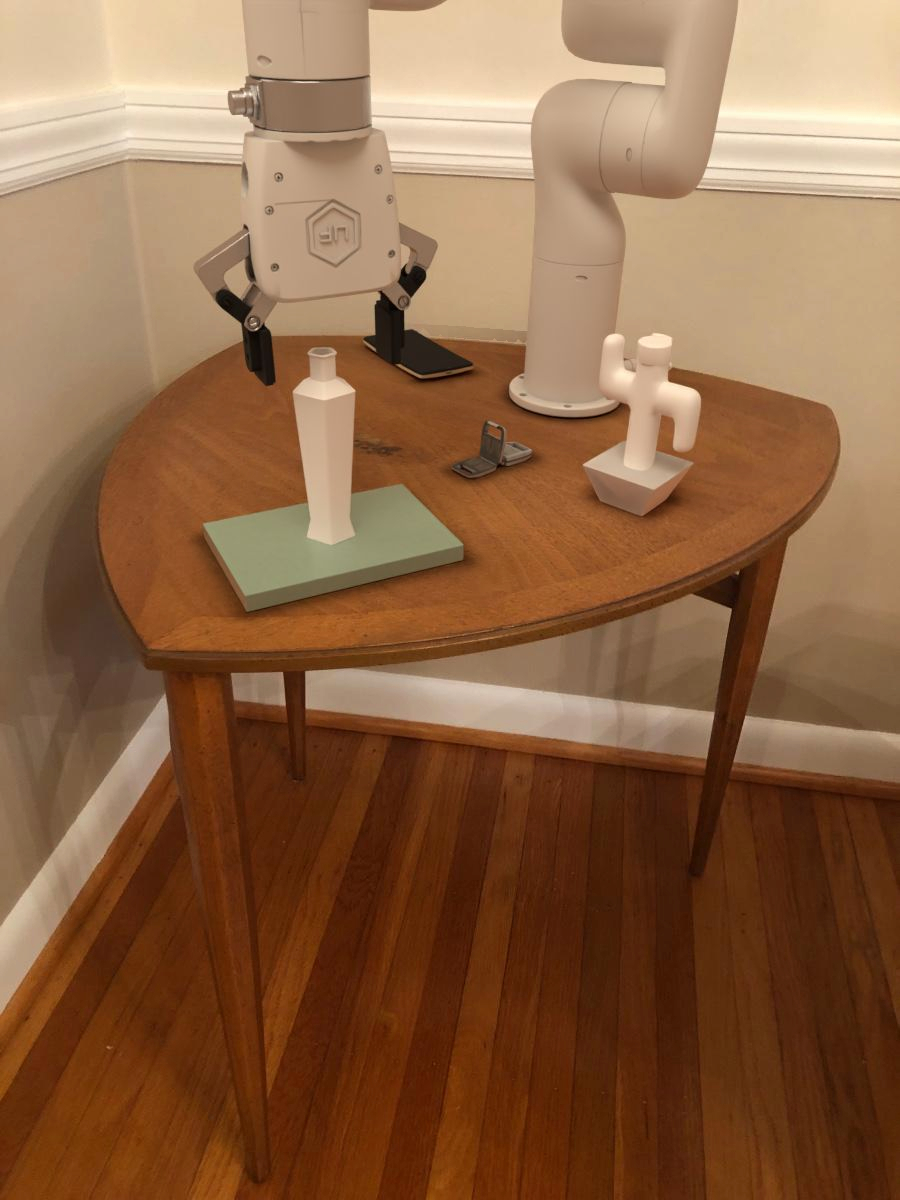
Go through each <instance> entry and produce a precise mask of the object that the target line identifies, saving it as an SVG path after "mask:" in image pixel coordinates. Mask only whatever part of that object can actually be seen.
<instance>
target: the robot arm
mask: <svg viewBox="0 0 900 1200" xmlns="http://www.w3.org/2000/svg"><path fill="white" fill-rule="evenodd" d="M447 1H448V0H241V7H242V8H241V10H242V19H243V28H244V30H243V31H244V40H245V41H244V43H245V52H246V53H245V54H246V64H247V73H248V75H246V76H245V78H244V79H245V83H244V87H240V88H239V89H238V90H236V89H235V90H234V89H233V90H228V92H227V106H228V111H229V113H230V115H231V116H243V118H247V119H248V120H249V123H251V124H252V129H253V130H250V131H249V130H248V131H246V132H244V134H243V142H242V143H243V144H242V153H241V154H242V157H241V173H240V176H241V177H240V226H241V227H240V228H241V230H239V231H238V232H236V233H235V234H234V235H232V236H231V237H229V238H228V239H227V240H225V241H224V242H222V243H220V244H219V245H218V246H216V247H215V248H214V249H212V250H211V251H209V252H208V253H207V254H205V255H203V256H202V257H200V258H199V259H198V260H197V261H195V262H194V263H193V271H194V273H195V274H196V276H197V278H198V279H199V281H200V282H201V283H202V285H203V287H204V288H205V289H206V291H207V292H208V294H209V295H210V297H211V298H212V300H213V301H214V302H215V303H216V304H217V305H218V306H219V307H220V308H221V309H222V310H223V311H224V312H226V313H227V314H228V315H229V316H231V317H232V318H233V319H235V320H236V321H237V322H238V323H240V324H241V331H242V332H241V333H242V342H243V343H242V344H243V351H244V360H245V365H246V369H247V370H248V371H249V372H250V373H253V374H254V375H255V376H256V378H257V379H259V381H260V382H261V383H262V385H264V386H265V387H270V386H274V384H276V382H277V380H276V370H275V368H276V367H275V359H274V358H275V357H274V348H273V338H272V337H273V336H272V331H271V330H270V329H269V328H268V327H267V326H266V323H265V322H266V320H267V319H268V317H269V316H270V315H271V313H272V311H273V310H274V308H275V306H276V305H277V303H281V304H282V303H284V304H291V303H302V302H309V301H310V302H311V301H317V300H327V299H335V298H341V297H347V296H348V297H349V296H356V295H357V296H358V295H363V294H370V293H376V292H377V294H379V299H378V300H375V304H374V307H373V308H374V309H373V310H374V335H375V342H376V352H375V353H376V354H377V355H378V356H379V357H381V358H382V359H383V360H385V361H386V362H387V363H388V364H391V365H392V366H397V365H398V364H400V363H401V348H404V345H405V330H406V329H405V311H407V309H409V308H410V306H411V304H412V298H413V296H414V295H415V294H416V293H417V292H418V290H419V289H420V288H421V287H422V285H423V284H424V283H425V282H426V280H427V272H428V269H429V270H430V267H431V264H432V262H433V260H434V258H435V255H436V253H437V251H438V247H439V245H438V244H439V243H438V242H437V241H436V240H435V239H434V238H432V237H431V236H429V235H426V234H424V233H422V232H420V231H418V230H416V229H414V228H412V227H410V226H408V225H406V224H403V223H402V222H400V220H399V219H400V218H399V212H398V209H399V208H398V201H397V193H396V185H395V179H394V172H393V167H392V161H391V156H390V151H389V145H388V141H387V137H386V133H385V131H384V130H381V129H378V128H376V127H375V128H374V127H373V120H372V119H373V118H372V117H373V116H372V86H371V85H372V82H371V81H372V80H371V75H370V74H371V52H370V49H371V48H370V18H369V14H370V13H369V10H372V11H390V12H420V11H426V10H430V9H433V8H437V7H438V6H440V5H442V4H444V3H445V2H447ZM561 2H562V3H561V16H560V17H561V19H560V29H561V30H560V31H561V38H562V40H563V44H564V46H565V47H566V49H567V51H568V52H569V53H571V54H572V55H573V56H574V57H576V58H579V59H581V60H583V61H588V62H592V63H593V62H594V63H601V64H609V65H622V66H623V65H624V66H634V67H635V66H636V67H648V68H649V67H650V68H661V69H664V77H665V78H664V85H662V84H661V85H660V84H649V83H638V82H632V81H622V80H609V79H596V78H575V79H568V80H564V81H562V82H559V83H557V84H555V85H552V87H550V88H548V90H546V91H545V92H544V93H543V95H541V97H540V99H539V100H538V102H537V104H536V106H535V108H534V111H533V115H532V118H531V124H530V150H531V159H532V161H531V162H532V169H533V170H532V171H533V180H534V181H533V182H534V224H533V225H534V228H533V242H532V258H531V259H532V260H531V273H530V286H529V287H530V288H529V298H528V299H529V300H528V302H529V303H528V314H527V327H526V328H527V329H526V330H527V331H526V343H525V356H524V357H525V358H524V369H523V371H524V372H523V373H521V374H519V375H516V376H515V377H514V378H512V379H511V381H510V383H509V385H508V386H509V387H508V395H509V399H511V400H512V402H514V403H515V404H516V405H517V406H519V407H521V408H523V409H525V410H527V411H530V412H533V413H536V414H541V415H544V416H545V415H546V416H550V417H558V418H590V417H596V416H600V415H604V414H607V413H609V412H611V411H613V410H615V409H616V408H618V406H619V405H620V404H621V402H618V401H614V400H611V399H608V398H606V397H604V396H603V395H602V393H601V392H600V388H599V376H600V367H601V358H602V350H603V343H604V340H605V338H606V337H607V336H609V335H611V334H616V327H617V318H618V311H619V304H620V294H621V287H622V279H623V269H624V262H625V257H626V249H627V247H626V246H627V237H626V236H627V235H626V227H625V223H624V220H623V217H622V214H621V211H620V210H619V207H618V205H617V202H616V200H615V198H614V196H613V194H615V193H616V194H623V195H631V196H638V197H646V198H653V199H661V200H663V199H664V200H678V199H681V198H685V197H687V196H689V195H691V194H692V193H693V192H694V191H696V189H697V187H699V185H700V184H701V182H702V179H703V178H704V176H705V173H706V170H707V167H708V164H709V161H710V156H711V153H712V149H713V144H714V140H715V139H714V138H715V135H716V130H717V123H718V119H719V114H720V108H721V104H722V100H723V99H722V97H723V93H724V89H725V83H726V78H727V71H728V67H729V61H730V57H731V51H732V46H733V42H734V36H735V30H736V24H737V16H738V7H739V0H562V1H561ZM402 245H404V246H406V247H408V248H409V256H408V261H407V263H405V264H404V265H403V266H402V247H401V246H402ZM242 261H243V265H244V270H245V271H244V272H245V274H246V277H247V280H248V281H249V284H248V285H247V287H246V288H245V290H244V292H243V293H242V295H241V296H240V297H238V296H237V294H235V293H234V292H232V290H231V289H230V287H229V286H228V285H227V283H226V281H225V274H226V273H227V272H228V271H229V270H231V269H232V268H234V267H235V266H236V265H238V264H239V263H241V262H242ZM624 367H625V369H626V370H628V371H632V372H635V373H636V368H637V357H633V358H627V359H624Z"/></svg>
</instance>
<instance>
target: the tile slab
mask: <svg viewBox="0 0 900 1200" xmlns="http://www.w3.org/2000/svg"><path fill="white" fill-rule="evenodd" d="M350 519H351V522H352V526H353V529H354V532H355V536H354V537H351V538H349V539H346V540H344V541H341V542H339V543H336V544H334V545H329V544H325V543H322V542H319V541H316V540H313V539H310V538H307V534H308V529H309V524H310V512H309V505H308V502H304V503H298V504H293V505H289V506H284V507H278V508H273V509H268V510H263V511H258V512H252V513H249V514H243V515H238V516H233V517H227V518H223V519H218V520H213V521H208V522H204V523H202V531H203V537H204V540H205V543H206V544H207V545H208V547H209V550H210V551H211V552H212V554H213V556H214V557H215V560H216V561H217V563H218V565H219V566H220V568H221V570H222V572H223V573H224V575H225V577H226V579H227V580H228V582H229V584H230V586H231V587H232V589H233V591H234V592H235V594H236V596H237V598H238V599H239V602H240V603H241V604H242V606H243V608H244V610H245V612H246V613H250V612H253V611H259V610H262V609H266V608H271V607H275V606H279V605H283V604H287V603H291V602H296V601H299V600H305V599H308V598H312V597H316V596H317V597H318V596H320V595H325V594H328V593H333V592H337V591H341V590H346V589H350V588H353V587H358V586H362V585H366V584H370V583H374V582H379V581H383V580H387V579H391V578H394V577H399V576H403V575H408V574H411V573H416V572H421V571H424V570H429V569H433V568H437V567H441V566H444V565H445V566H446V565H449V564H453V563H458V562H462V561H464V555H465V554H464V553H465V552H464V551H465V544H464V543H463V542H462V541H461V540H460V539H459V538H458V537H457V536H456V535H455V534H454V533H453V532H452V531H451V530H450V529H449V528H448V527H446V525H445V524H444V523H443V522H442V521H441V520H440V519H439V518H437V516H435V515H434V514H433V512H431V510H430V509H429V508H428V507H426V505H424V504H423V503H422V502H421V501H420V500H419V499H418V497H416V496H415V495H414V494H413V493H412V492H411V491H410V490H409V489H408V488H407V487H406V486H405V485H404V484H403V483H399V484H394V485H388V486H383V487H378V488H373V489H369V490H364V491H359V492H353V493H351V506H350Z"/></svg>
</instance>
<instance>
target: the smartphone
mask: <svg viewBox="0 0 900 1200" xmlns="http://www.w3.org/2000/svg"><path fill="white" fill-rule="evenodd" d="M362 341H363V343H364V345H365V346H367V347H368V348H369V349H371V350H372V351H374V352H375V353H377V352H376V342H375V334H373V335H372V334H371V335H367V336H364V337H363V339H362ZM396 366H397V367H399V368H400V369H402V370H403V371H405V372H407V373H409V374H410V375H413V376H415V377H417V378H418V379H431V378H432V379H433V378H439V377H444V376H451V375H455V374H460V373H463V372H467V371H470V370H473V369H474V363H473V362H472V361H471V360H468V359H466V358H464V357H463V356H460V355H458V354H457V353H455V352H453V351H452V350H450V349H448V348H447V347H444V346H442V345H440V344H439V343H437V342H435V341H434V340H432V339H431V338H429V337H427V336H425V335H423V334H422V333H420V332H419V331H417V330H415V329H414V328H413V329H405V345H404V348H401V363H400V364H398V365H396Z"/></svg>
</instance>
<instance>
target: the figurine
mask: <svg viewBox="0 0 900 1200" xmlns="http://www.w3.org/2000/svg"><path fill="white" fill-rule="evenodd" d="M673 343H674V340H673V337H672V336H670V335H668V334H666V333H665V334H664V333H659V332H653V333H652V334H650V335H646V336H642V337H640V338H639V339H638V340H637V349H636V358H637V368H636V373H635V372H632V371H628V370H626V369H625V367H624V360H625V348H626V338H625V337H624V335H622V334H621V333H615V334H611V335H609V336H607V337H606V338H605V340H604V343H603V350H602V358H601V367H600V376H599V388H600V392H601V393H602V395H603V396H604V397H606V398H608V399H611V400H614V401H618V402H620V404H624V405H628V408H629V409H630V411H629V417H628V418H629V419H628V427H627V432H626V434H627V435H626V439H625V440H622V441H620V442H619V443H617V444H615V445H613V446H611V447H610V448H608V449H607V450H605V451H602V452H601V453H600V454H598V455H596V456H595V457H593V458H591V459H590V460H588V461H586V462H584V463H583V464H581V466H582V468H583V470H584V472H585V475H586V476H587V478H588V480H589V482H590V485H591V486H592V488H593V490H594V492H595V494H596V497H597V498H598V500H599V502H601V503H604V504H607V505H609V506H612V507H615V508H617V509H620V510H623V511H626V512H628V513H631V514H634V515H637V516H639V517H644V516H645V515H646V514H648V513H649V512H651V511H652V510H653V509H655V508H656V507H658V506H659V505H661V504H662V503H663V502H665V501H666V500H667V499H668V498H669V497H670V495H671V494H672V492H673V491H674V489H675V488H677V486H678V485H679V483H680V482H681V481H682V480H683V478H684V477H685V476H686V474H688V472H689V470H690V469H691V468H692V467H693V466H694V464H695V462H693V461H690V460H687V459H683V458H681V457H678V456H674V455H671V454H668V453H665V452H662V451H659V450H657V446H658V440H659V432H660V426H661V421H662V416H664V417H669V418H672V420H673V422H674V432H673V440H672V449H673V450H674V451H675V452H677V453H687V452H689V451H691V450H692V449H693V448H694V446H695V444H696V437H697V434H698V433H697V432H698V429H699V428H698V427H699V423H700V422H699V421H700V416H701V409H702V397H701V395H700V393H699V392H698V391H697V390H696V389H695V388H692V387H689V386H685V385H682V384H679V383H675V382H671V381H669V371H670V370H672V368H673V363H672V362H671V361H672V355H673V354H672V352H673V345H674V344H673Z"/></svg>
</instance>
